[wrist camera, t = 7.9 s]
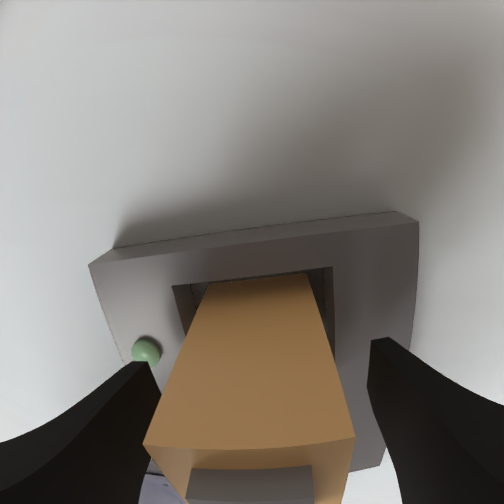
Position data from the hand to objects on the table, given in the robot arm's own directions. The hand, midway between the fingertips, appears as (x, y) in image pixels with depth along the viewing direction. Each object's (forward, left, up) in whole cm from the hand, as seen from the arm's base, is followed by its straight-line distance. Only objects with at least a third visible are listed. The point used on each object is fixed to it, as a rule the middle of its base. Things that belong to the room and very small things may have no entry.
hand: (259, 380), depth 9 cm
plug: (0, 0, -4) cm, 4 cm away
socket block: (-4, 0, -4) cm, 5 cm away
